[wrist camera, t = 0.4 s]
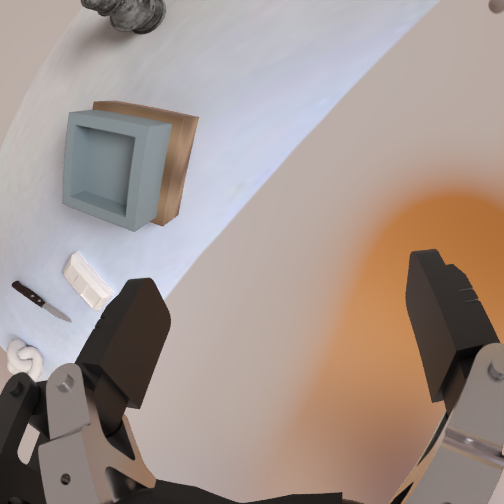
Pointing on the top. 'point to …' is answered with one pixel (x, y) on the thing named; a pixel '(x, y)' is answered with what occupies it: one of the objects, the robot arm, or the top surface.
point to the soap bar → (87, 282)
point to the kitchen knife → (39, 300)
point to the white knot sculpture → (24, 359)
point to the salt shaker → (130, 13)
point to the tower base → (175, 155)
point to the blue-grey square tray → (114, 166)
